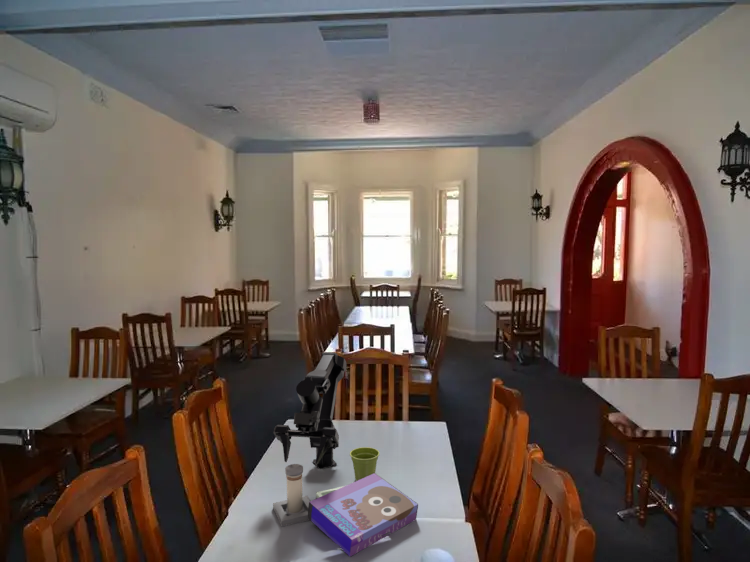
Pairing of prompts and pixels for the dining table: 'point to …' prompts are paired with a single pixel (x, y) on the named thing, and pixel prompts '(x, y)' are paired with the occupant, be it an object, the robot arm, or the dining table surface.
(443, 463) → the dining table surface
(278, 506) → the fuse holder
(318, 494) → the parts tray
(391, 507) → the cereal box
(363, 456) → the plant pot
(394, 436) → the dining table surface
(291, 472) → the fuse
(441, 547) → the dining table surface
